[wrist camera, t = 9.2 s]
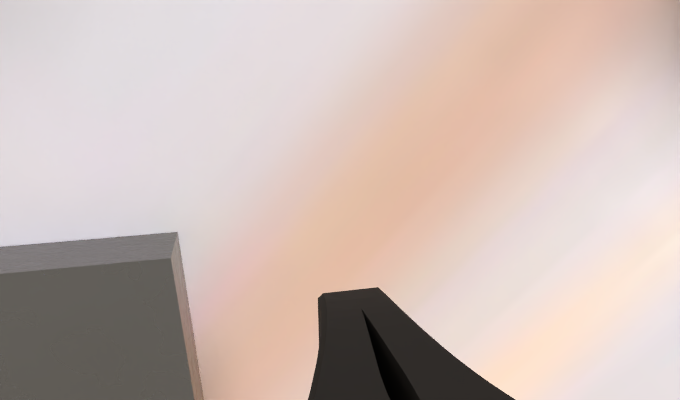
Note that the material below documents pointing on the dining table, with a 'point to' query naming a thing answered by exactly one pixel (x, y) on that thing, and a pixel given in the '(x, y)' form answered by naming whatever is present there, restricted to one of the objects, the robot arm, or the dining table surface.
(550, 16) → the dining table surface
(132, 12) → the dining table surface
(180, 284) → the slate plate
